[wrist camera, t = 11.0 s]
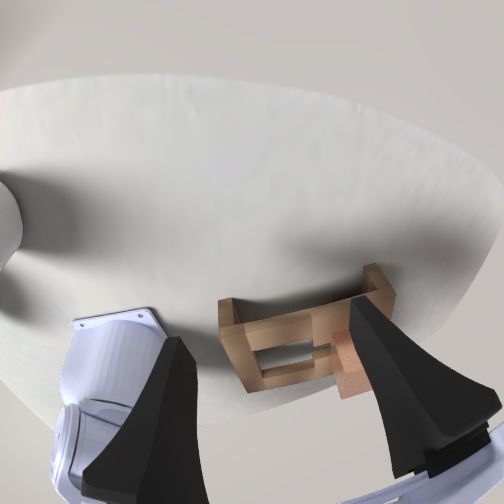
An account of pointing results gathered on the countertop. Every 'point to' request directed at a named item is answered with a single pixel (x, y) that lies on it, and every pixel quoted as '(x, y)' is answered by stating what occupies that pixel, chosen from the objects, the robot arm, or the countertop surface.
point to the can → (9, 225)
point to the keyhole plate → (294, 335)
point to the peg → (347, 366)
